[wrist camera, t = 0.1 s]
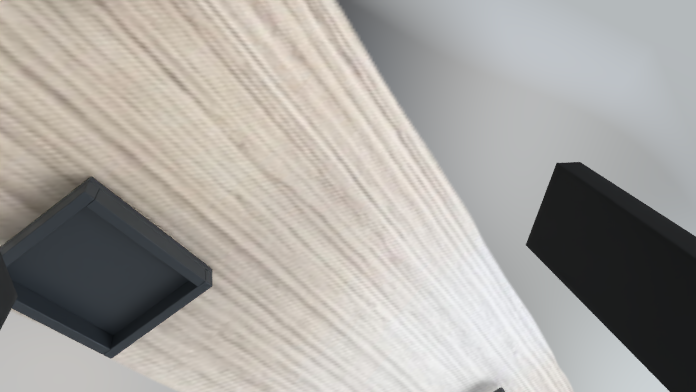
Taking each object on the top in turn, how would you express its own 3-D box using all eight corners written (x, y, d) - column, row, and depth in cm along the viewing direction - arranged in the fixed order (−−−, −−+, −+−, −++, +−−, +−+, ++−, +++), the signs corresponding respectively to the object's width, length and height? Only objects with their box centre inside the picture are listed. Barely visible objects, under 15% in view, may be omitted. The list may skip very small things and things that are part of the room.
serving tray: (-22, 264, 30) (-36, 284, 29) (91, 175, 29) (84, 191, 27) (115, 338, 37) (111, 359, 35) (212, 269, 36) (212, 286, 34)
